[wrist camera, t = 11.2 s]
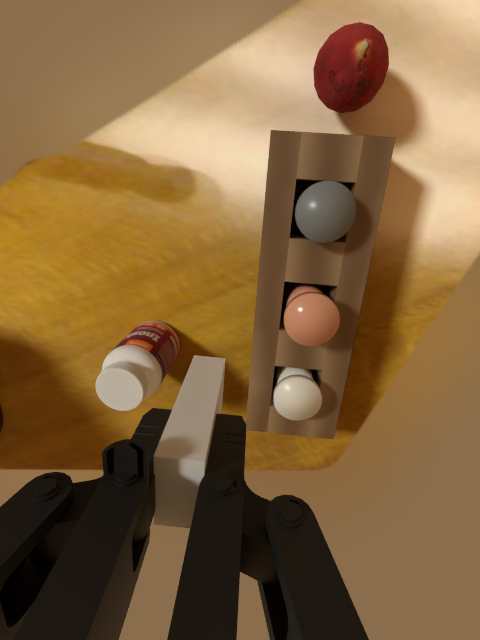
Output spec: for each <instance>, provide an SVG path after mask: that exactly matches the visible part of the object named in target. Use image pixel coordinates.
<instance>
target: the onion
mask: <svg viewBox="0 0 480 640" xmlns="http://www.w3.org/2000/svg"><path fill="white" fill-rule="evenodd" d="M388 66H389V57H388V47H387V44H386V41H385V38H384V35H383V34H382V33H381V32H380V31H378V30H377V29H376V28H375V27H374V26H372V25H368V24H364V23H360V22H358V23H354V24H349V25H345V26H343V27H342V28H340V29H338V30H337V31H335V32H334V33H332V34H331V35H330V36H329V38H328V39H327V40H326V42H325V43H324V45H323V46H322V47H321V49H320V50H319V52H318V55H317V58H316V62H315V65H314V86H315V89H316V92H317V94H318V97H319V99H320V100H321V101H322V102H323V103H324V104H325V105H326V107H327V108H329V109H331V110H334V111H336V112H339V113H344V112H351V111H356V110H358V109H360V108H361V107H363V106H364V105H366V104H367V103H369V102H370V101H371V100H372V99H373V98H374V96H375V95H376V93H377V92H378V90H379V89H380V88H381V86H382V85H383V82H384V79H385V76H386V73H387V70H388Z"/></svg>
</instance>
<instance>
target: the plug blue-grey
mask: <svg viewBox="0 0 480 640" xmlns="http://www.w3.org/2000/svg"><path fill="white" fill-rule="evenodd" d="M355 215H356V203H355V200H354V197H353V195H352V193H351V192H350V191H349V189H348V188H346V187H345V186H344V185H342V184H340V183H338V182H335V181H322V182H318V183H315V184H313V185H311V186H310V187H308V188H307V189H306V190H305V191H303V192H302V193H301V194H300V195H299V196H298V197H297V199H296V201H295V204H294V216H295V220H296V223H297V226H298V228H299V229H300V231H301V232H302V233H303V234H304V235H305V236H306V237H307V238H309V239H310V240H312V241H315V242H319V243H327V242H332V241H335V240H337V239H339V238H341V237H342V236H343V235H344V234H346V233H347V231H348V230H349V229H350V227H351V226H352V224H353V222H354V219H355Z"/></svg>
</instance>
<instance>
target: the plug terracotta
mask: <svg viewBox="0 0 480 640" xmlns="http://www.w3.org/2000/svg"><path fill="white" fill-rule="evenodd" d="M284 297H285V304H286V309H285V311H284V326H285V329H286V332H287V334H288V335H289V336H290V338H291V339H292V340H294V341H295V342H297V343H299V344H301V345H304V346H317V345H321V344H323V343H325V342H327V341H329V340H330V339H331V338H332V337H333V336H334V335H335V333H336V332H337V330H338V327H339V324H340V315H339V311H338V309H337V307H336V305H335V304H334V302H333V301H332V300H331V299H330V298H329V297H328V296H326V295H324V294H323V292H322V290H321V288H320V287H319V285H318V284H308V283H296V282H291V283H290V284H289V285H288V286H287V288H286V290H285V295H284Z"/></svg>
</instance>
